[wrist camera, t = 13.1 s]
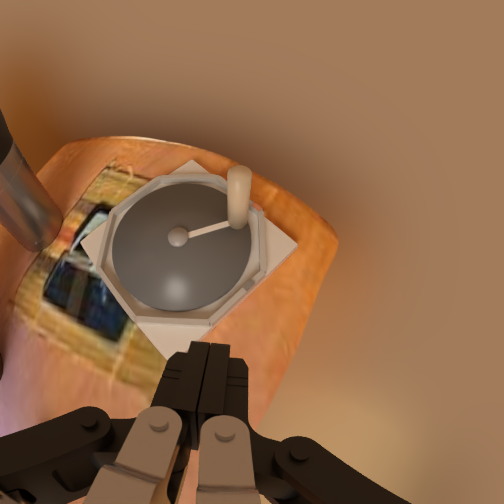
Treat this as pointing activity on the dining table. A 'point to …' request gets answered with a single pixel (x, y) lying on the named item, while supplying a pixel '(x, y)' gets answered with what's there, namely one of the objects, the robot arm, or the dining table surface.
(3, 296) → the dining table surface
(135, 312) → the dial plate
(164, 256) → the dial
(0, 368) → the plant pot
